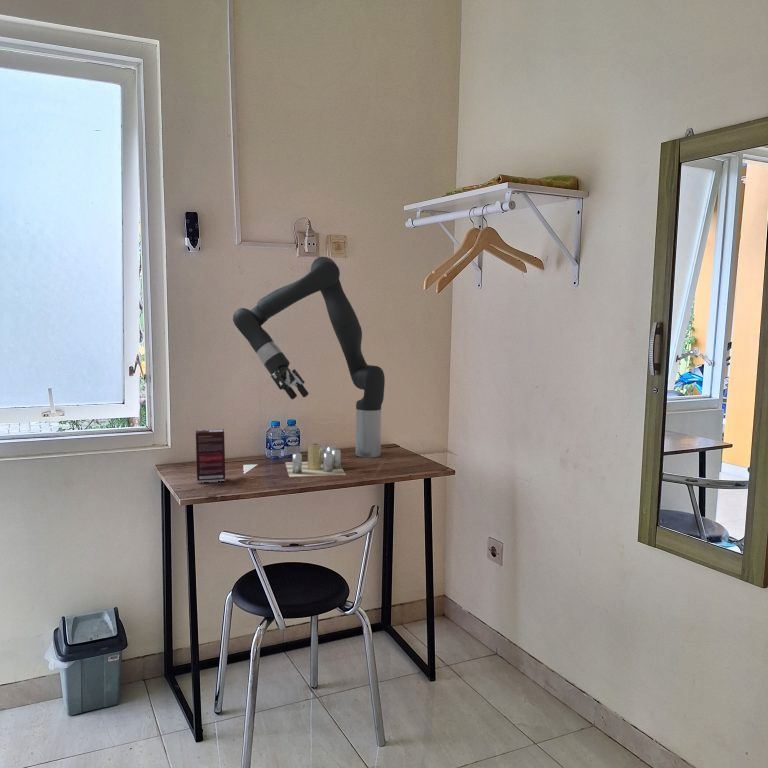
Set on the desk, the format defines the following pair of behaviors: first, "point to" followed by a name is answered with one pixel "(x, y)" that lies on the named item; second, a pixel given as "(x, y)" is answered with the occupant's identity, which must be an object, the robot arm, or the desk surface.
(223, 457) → the supplement box
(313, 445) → the tan faceted block
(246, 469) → the off-white mat
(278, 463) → the desk surface
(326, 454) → the posts
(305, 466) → the board
